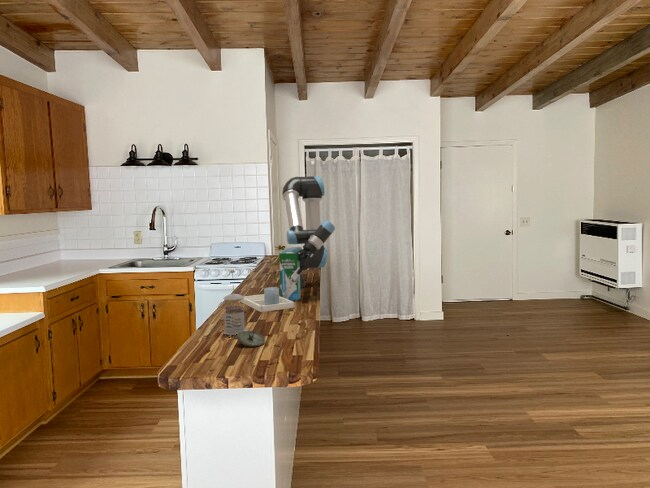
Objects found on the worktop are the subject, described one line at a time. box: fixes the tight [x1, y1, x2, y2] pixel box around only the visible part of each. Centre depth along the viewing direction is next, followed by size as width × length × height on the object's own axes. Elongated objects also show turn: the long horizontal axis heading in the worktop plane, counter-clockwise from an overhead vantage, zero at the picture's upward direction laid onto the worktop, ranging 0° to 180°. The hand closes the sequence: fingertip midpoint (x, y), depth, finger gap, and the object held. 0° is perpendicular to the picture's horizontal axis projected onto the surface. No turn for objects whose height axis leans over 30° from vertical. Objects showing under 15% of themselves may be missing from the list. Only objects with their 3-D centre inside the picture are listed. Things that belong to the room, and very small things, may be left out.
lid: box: [235, 330, 266, 348], centre depth 191 cm, size 11×10×5 cm
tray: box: [240, 293, 295, 313], centre depth 256 cm, size 28×17×4 cm, turn 28°
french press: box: [217, 269, 248, 336], centre depth 209 cm, size 10×12×25 cm
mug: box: [263, 286, 280, 306], centre depth 248 cm, size 9×7×9 cm
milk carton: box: [278, 252, 302, 301], centre depth 268 cm, size 9×9×25 cm
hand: (287, 277), depth 267 cm, fingers open, 13 cm apart
